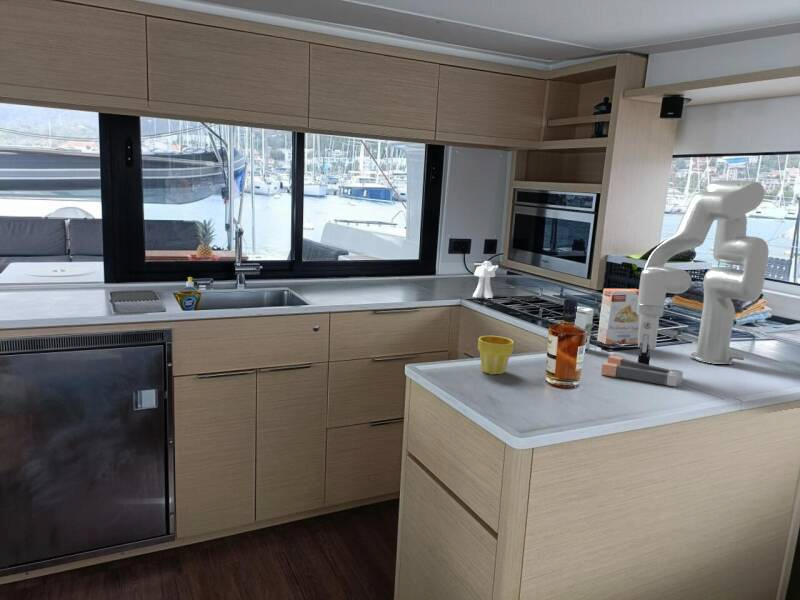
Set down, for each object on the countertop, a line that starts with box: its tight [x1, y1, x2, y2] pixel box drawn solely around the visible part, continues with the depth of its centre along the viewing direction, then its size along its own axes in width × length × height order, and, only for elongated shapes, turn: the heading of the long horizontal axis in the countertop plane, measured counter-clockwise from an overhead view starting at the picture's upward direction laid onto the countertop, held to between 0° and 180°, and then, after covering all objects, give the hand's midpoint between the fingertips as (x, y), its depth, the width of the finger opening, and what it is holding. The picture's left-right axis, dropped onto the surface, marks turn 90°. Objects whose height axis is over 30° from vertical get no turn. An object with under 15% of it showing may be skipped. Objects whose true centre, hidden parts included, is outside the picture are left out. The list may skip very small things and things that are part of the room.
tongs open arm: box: [607, 354, 670, 373], centre depth 182 cm, size 18×3×3 cm, turn 47°
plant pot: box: [477, 335, 514, 375], centre depth 177 cm, size 10×10×10 cm
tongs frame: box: [600, 361, 684, 388], centre depth 176 cm, size 22×5×4 cm, turn 65°
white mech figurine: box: [472, 260, 500, 299], centre depth 300 cm, size 12×13×18 cm
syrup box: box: [575, 306, 595, 350], centre depth 207 cm, size 6×6×14 cm
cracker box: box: [596, 288, 640, 344], centre depth 212 cm, size 14×6×21 cm, turn 105°
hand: (642, 367), depth 184 cm, fingers closed
